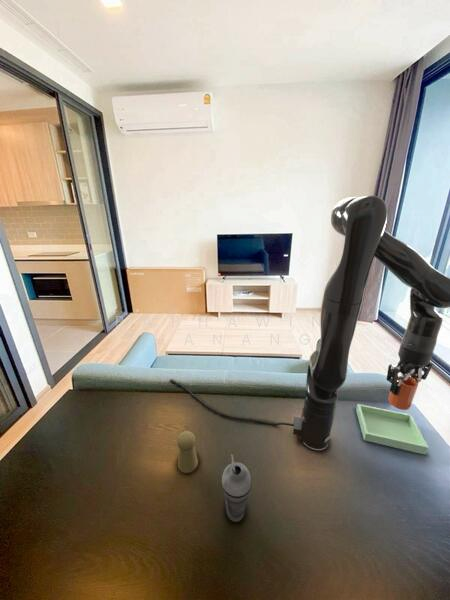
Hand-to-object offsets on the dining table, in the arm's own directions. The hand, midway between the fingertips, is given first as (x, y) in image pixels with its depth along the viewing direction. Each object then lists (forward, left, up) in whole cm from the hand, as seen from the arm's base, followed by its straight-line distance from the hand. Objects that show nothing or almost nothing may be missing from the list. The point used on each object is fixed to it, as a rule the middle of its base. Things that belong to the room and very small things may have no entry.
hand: (402, 391), depth 77 cm
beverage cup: (-44, -37, -19) cm, 61 cm away
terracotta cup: (0, 0, -5) cm, 5 cm away
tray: (+1, +2, -19) cm, 19 cm away
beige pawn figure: (-61, -29, -19) cm, 70 cm away
